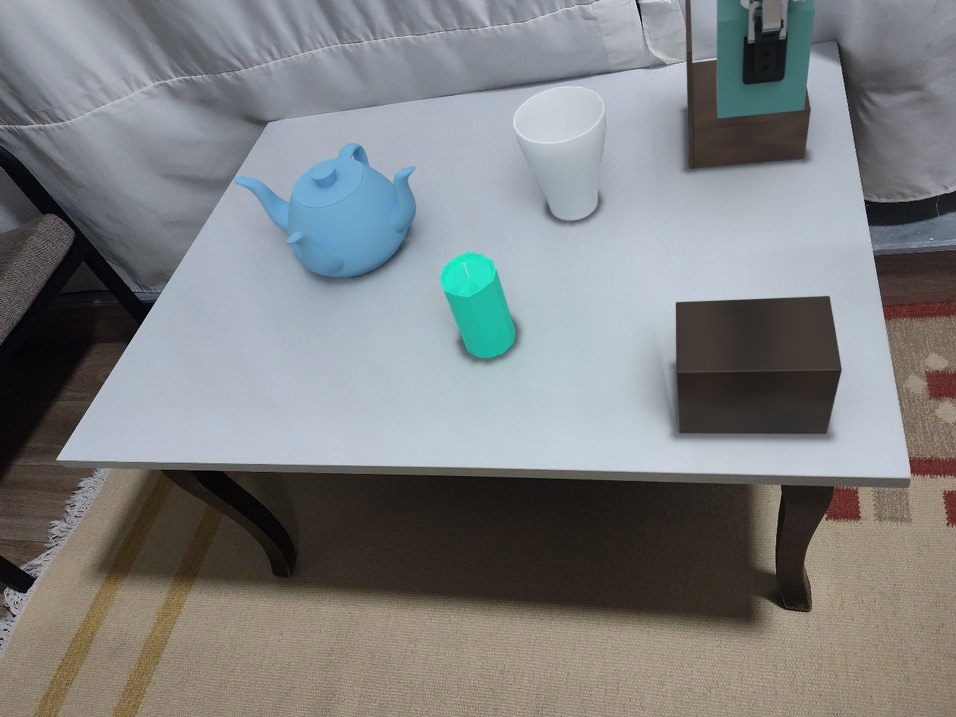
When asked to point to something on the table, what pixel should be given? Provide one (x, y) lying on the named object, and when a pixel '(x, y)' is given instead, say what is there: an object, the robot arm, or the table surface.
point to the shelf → (735, 123)
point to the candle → (478, 304)
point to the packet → (730, 43)
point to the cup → (564, 146)
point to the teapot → (342, 213)
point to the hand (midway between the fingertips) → (761, 60)
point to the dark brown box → (756, 365)
